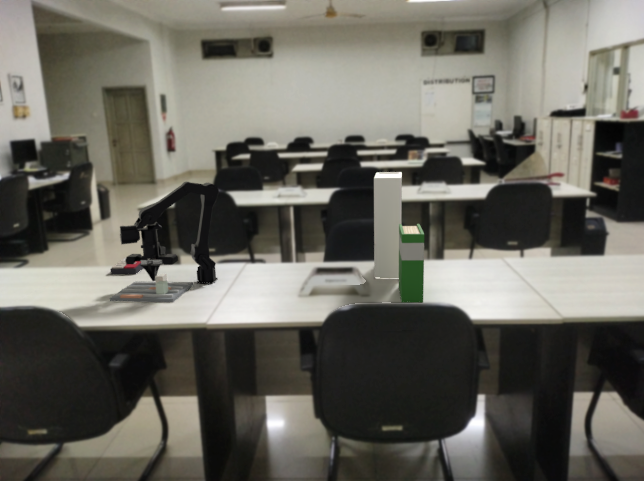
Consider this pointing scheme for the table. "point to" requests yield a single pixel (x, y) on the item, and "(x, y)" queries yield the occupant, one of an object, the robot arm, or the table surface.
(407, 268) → the hardback book
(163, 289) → the sage slider
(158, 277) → the cream slider
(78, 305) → the table surface
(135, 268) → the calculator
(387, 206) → the storage box
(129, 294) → the grey slider track board
